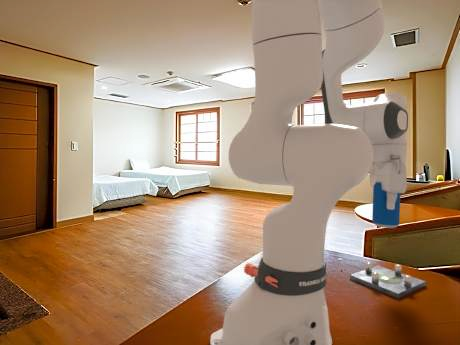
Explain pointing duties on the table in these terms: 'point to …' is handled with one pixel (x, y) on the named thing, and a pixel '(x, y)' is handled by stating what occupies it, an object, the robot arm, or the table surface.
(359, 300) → the table surface
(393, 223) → the beverage can
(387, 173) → the robot arm
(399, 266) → the plate
